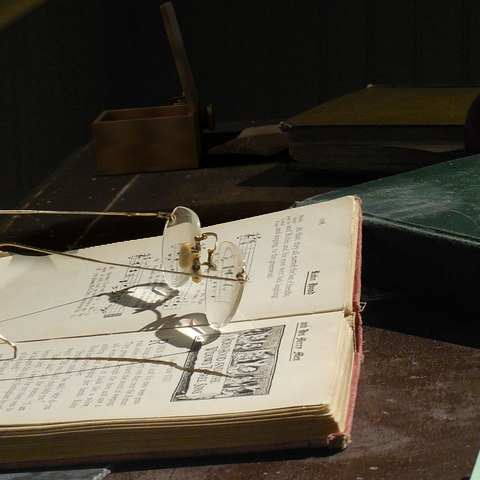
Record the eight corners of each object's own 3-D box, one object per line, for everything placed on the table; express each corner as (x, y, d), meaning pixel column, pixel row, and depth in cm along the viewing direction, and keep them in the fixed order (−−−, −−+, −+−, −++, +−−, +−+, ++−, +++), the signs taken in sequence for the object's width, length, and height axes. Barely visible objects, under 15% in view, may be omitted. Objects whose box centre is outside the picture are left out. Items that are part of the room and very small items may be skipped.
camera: (212, 151, 152) (207, 101, 149) (170, 154, 152) (164, 104, 149) (220, 132, 167) (216, 87, 165) (182, 134, 167) (177, 89, 165)
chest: (99, 175, 139) (91, 123, 137) (109, 159, 150) (103, 110, 148) (198, 168, 140) (193, 115, 138) (202, 152, 151) (197, 103, 149)
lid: (159, 6, 133) (165, 5, 133) (166, 2, 144) (171, 1, 144) (190, 113, 138) (195, 111, 138) (194, 101, 149) (199, 100, 149)
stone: (309, 143, 153) (307, 123, 152) (252, 163, 140) (251, 141, 139) (253, 140, 158) (252, 121, 157) (194, 159, 146) (192, 138, 145)
